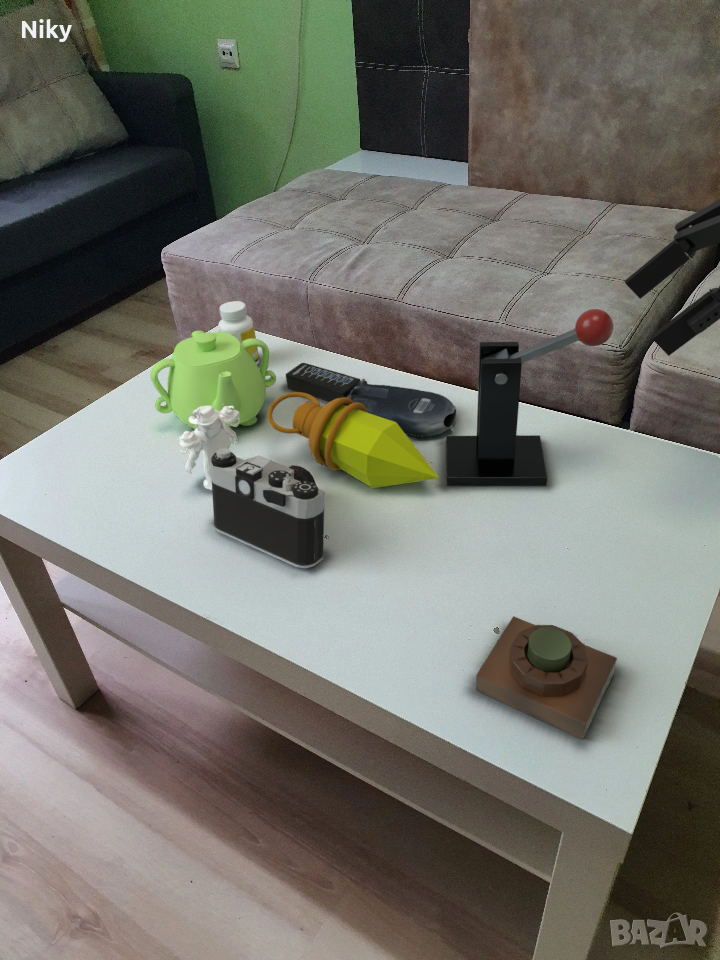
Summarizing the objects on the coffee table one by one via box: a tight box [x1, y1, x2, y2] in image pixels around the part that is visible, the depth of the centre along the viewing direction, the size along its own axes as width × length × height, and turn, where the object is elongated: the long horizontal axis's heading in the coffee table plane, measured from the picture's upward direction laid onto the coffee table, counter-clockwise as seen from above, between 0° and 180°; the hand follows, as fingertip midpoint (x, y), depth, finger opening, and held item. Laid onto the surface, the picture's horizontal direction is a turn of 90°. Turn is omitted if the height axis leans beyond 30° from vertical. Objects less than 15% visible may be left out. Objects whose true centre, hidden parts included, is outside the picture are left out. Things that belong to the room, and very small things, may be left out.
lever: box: [484, 308, 614, 364], centre depth 84 cm, size 14×4×4 cm, turn 85°
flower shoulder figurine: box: [177, 403, 240, 491], centre depth 92 cm, size 9×4×12 cm, turn 142°
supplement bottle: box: [217, 300, 260, 365], centre depth 117 cm, size 5×5×10 cm
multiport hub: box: [285, 362, 362, 402], centre depth 111 cm, size 4×11×2 cm, turn 55°
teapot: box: [149, 330, 277, 430], centre depth 104 cm, size 16×14×13 cm
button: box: [528, 627, 571, 672], centre depth 66 cm, size 4×4×2 cm
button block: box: [475, 616, 618, 740], centre depth 67 cm, size 10×8×4 cm
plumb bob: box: [267, 391, 440, 489], centre depth 94 cm, size 9×9×25 cm
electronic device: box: [347, 378, 457, 438], centre depth 104 cm, size 9×6×15 cm
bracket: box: [445, 341, 548, 487], centre depth 90 cm, size 12×9×16 cm
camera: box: [210, 448, 326, 569], centre depth 85 cm, size 15×11×10 cm
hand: (644, 316), depth 81 cm, fingers open, 13 cm apart
